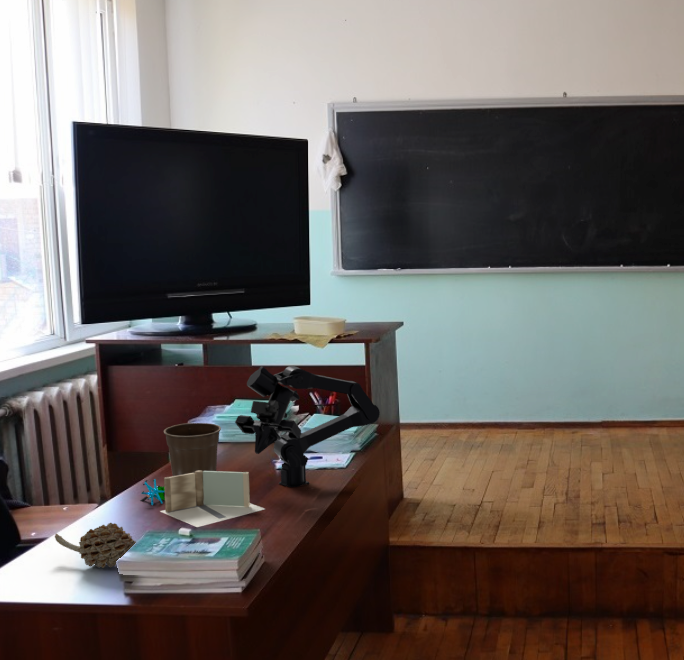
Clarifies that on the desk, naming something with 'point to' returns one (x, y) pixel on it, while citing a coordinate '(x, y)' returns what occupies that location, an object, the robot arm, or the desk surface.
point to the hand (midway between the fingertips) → (256, 453)
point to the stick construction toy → (154, 492)
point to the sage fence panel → (226, 488)
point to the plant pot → (192, 447)
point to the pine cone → (101, 545)
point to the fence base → (183, 491)
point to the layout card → (211, 513)
